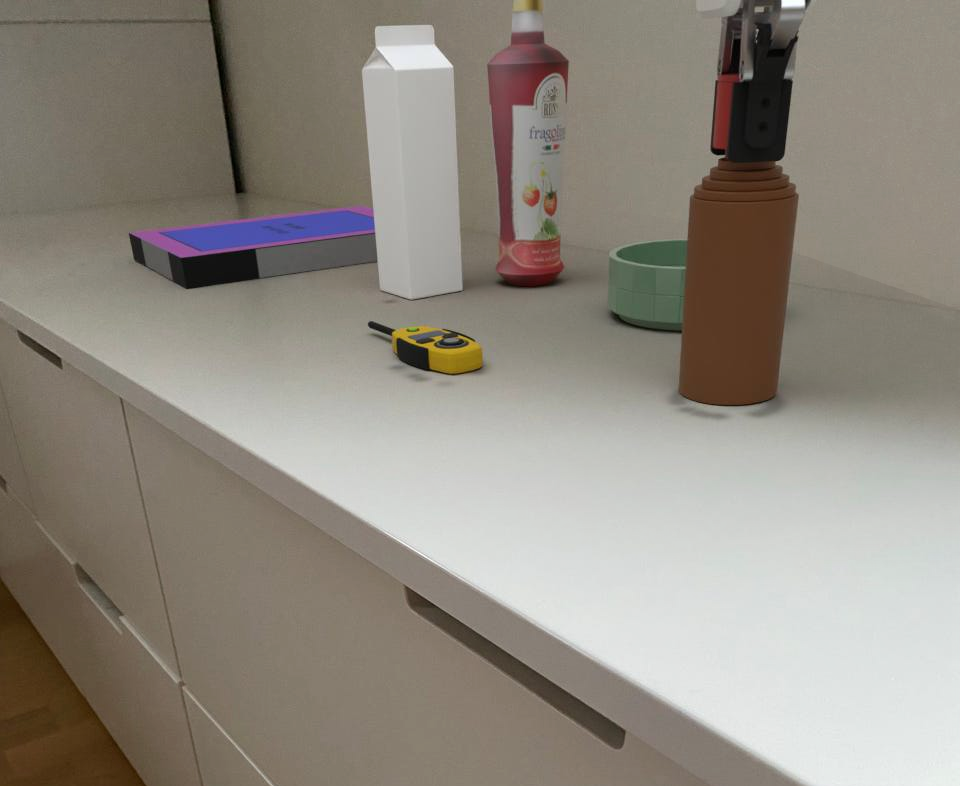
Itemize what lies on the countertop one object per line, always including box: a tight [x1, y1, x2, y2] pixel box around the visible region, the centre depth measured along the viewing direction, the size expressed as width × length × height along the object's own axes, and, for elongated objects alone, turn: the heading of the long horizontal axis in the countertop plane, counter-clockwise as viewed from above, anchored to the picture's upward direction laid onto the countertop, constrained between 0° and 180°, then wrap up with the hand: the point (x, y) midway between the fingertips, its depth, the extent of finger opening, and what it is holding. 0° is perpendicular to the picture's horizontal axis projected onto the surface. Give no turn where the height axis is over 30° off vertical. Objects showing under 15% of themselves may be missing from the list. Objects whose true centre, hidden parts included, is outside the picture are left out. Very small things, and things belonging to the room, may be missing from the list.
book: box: [128, 205, 378, 290], centre depth 114 cm, size 21×3×30 cm
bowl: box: [607, 238, 688, 332], centre depth 83 cm, size 13×13×5 cm
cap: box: [713, 73, 740, 149], centre depth 57 cm, size 4×4×4 cm
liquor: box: [486, 0, 570, 287], centre depth 90 cm, size 7×7×28 cm
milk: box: [361, 24, 464, 301], centre depth 90 cm, size 6×6×22 cm
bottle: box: [678, 149, 800, 406], centre depth 61 cm, size 6×6×18 cm
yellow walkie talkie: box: [367, 320, 484, 375], centre depth 76 cm, size 5×2×15 cm
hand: (745, 154), depth 58 cm, fingers closed on cap, 3 cm apart
